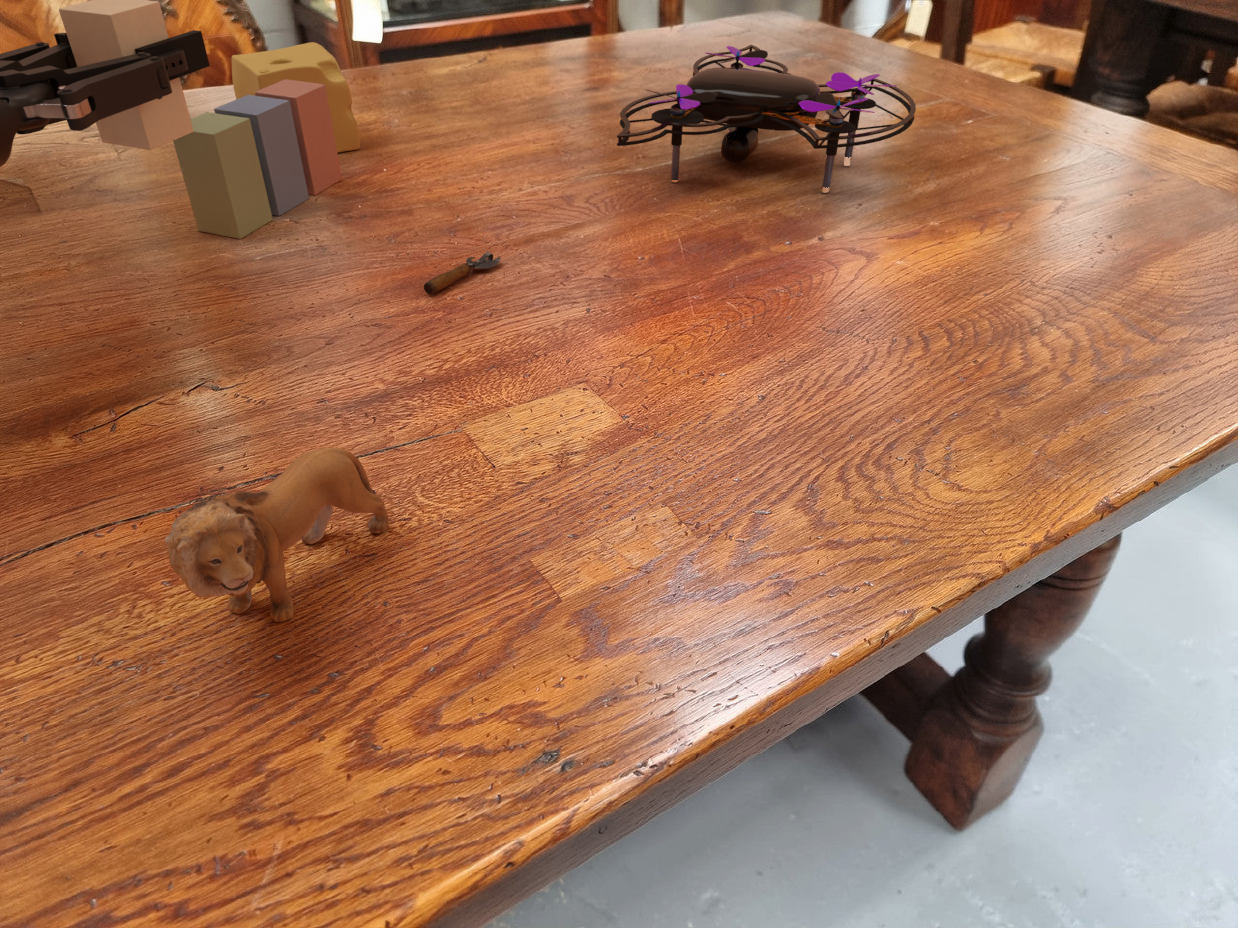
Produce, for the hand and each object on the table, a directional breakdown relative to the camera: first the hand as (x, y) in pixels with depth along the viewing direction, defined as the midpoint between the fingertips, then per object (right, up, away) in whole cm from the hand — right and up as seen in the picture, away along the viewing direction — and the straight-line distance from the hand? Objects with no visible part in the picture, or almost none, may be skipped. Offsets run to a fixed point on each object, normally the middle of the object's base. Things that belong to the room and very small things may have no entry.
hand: (173, 45), depth 77 cm
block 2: (-1, -11, +15) cm, 18 cm away
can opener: (+23, -18, +6) cm, 30 cm away
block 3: (+1, -8, +19) cm, 21 cm away
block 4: (+3, -4, +23) cm, 24 cm away
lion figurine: (+19, -42, -24) cm, 52 cm away
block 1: (-2, -8, 0) cm, 8 cm away
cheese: (-1, +3, +33) cm, 33 cm away
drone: (+55, -1, +29) cm, 62 cm away
